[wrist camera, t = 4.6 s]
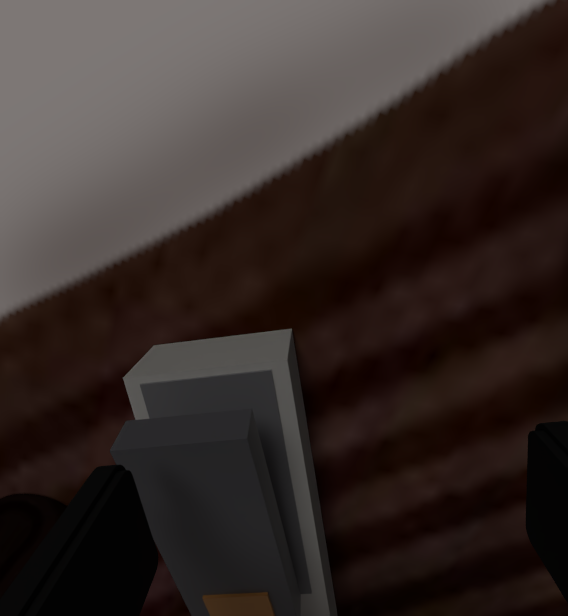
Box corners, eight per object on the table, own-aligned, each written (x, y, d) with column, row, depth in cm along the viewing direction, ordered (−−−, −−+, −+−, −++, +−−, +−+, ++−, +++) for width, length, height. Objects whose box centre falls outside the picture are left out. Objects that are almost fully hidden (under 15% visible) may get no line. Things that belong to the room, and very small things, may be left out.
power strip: (154, 345, 18) (121, 379, 15) (291, 328, 17) (286, 360, 14) (249, 700, 24) (240, 772, 21) (350, 698, 24) (355, 773, 21)
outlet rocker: (251, 408, 12) (246, 441, 11) (300, 595, 17) (300, 632, 16) (126, 421, 13) (107, 453, 11) (206, 599, 17) (199, 636, 16)
